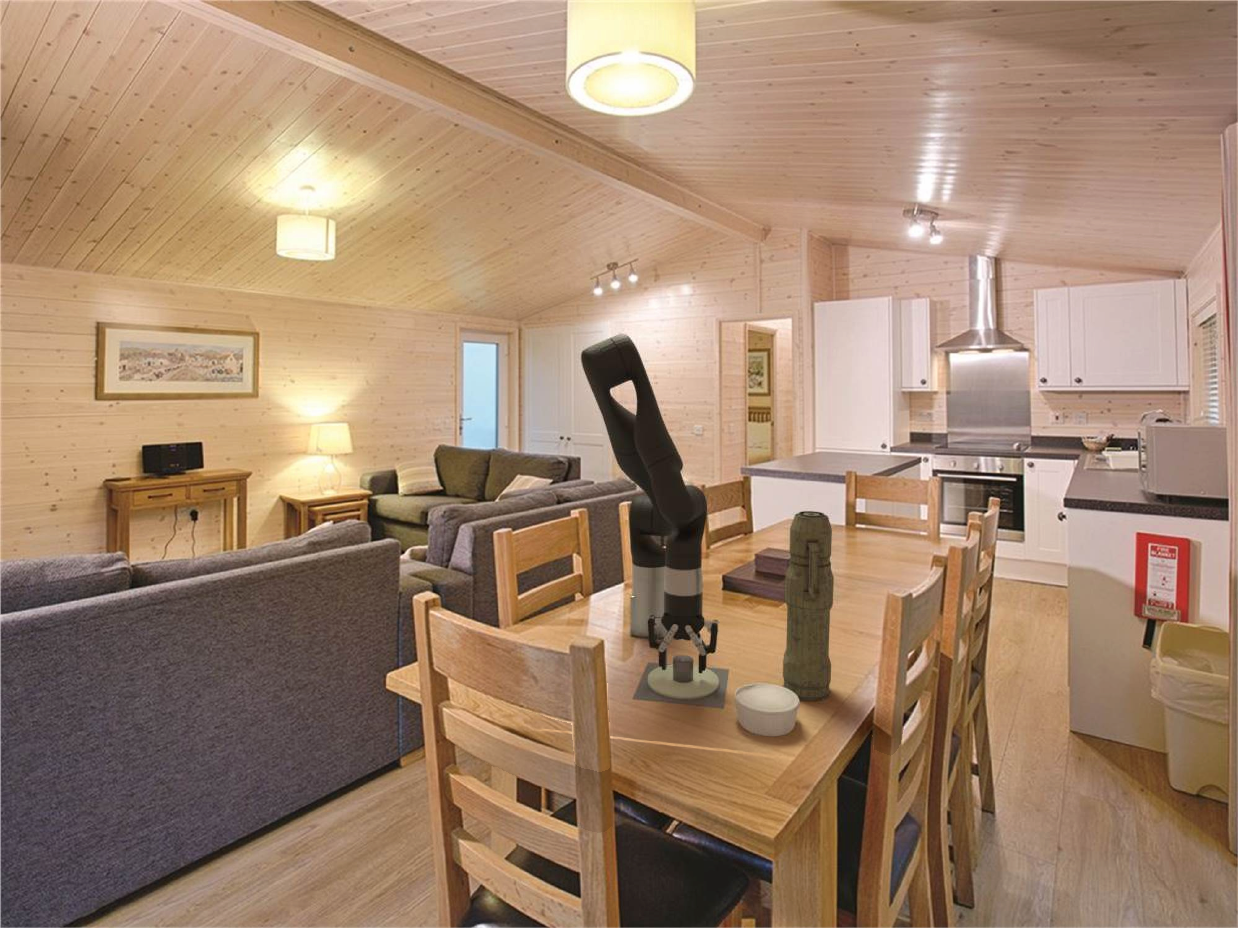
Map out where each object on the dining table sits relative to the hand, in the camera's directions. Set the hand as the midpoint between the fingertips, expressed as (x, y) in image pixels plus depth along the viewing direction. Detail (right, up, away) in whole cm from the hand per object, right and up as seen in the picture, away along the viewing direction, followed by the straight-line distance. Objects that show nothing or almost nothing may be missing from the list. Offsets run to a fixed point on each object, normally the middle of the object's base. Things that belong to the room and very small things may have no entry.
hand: (682, 669), depth 128 cm
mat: (0, -3, 0) cm, 3 cm away
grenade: (+24, -4, -2) cm, 24 cm away
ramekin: (+13, -5, -15) cm, 20 cm away
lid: (0, -3, 0) cm, 3 cm away
